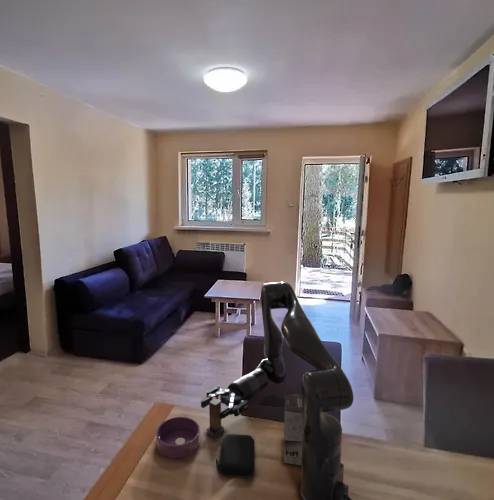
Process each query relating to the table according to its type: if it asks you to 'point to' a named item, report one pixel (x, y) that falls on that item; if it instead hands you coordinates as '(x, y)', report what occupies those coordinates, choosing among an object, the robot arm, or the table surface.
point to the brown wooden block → (215, 418)
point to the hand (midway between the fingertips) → (210, 410)
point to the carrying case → (236, 455)
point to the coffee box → (293, 429)
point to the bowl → (175, 430)
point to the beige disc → (179, 441)
